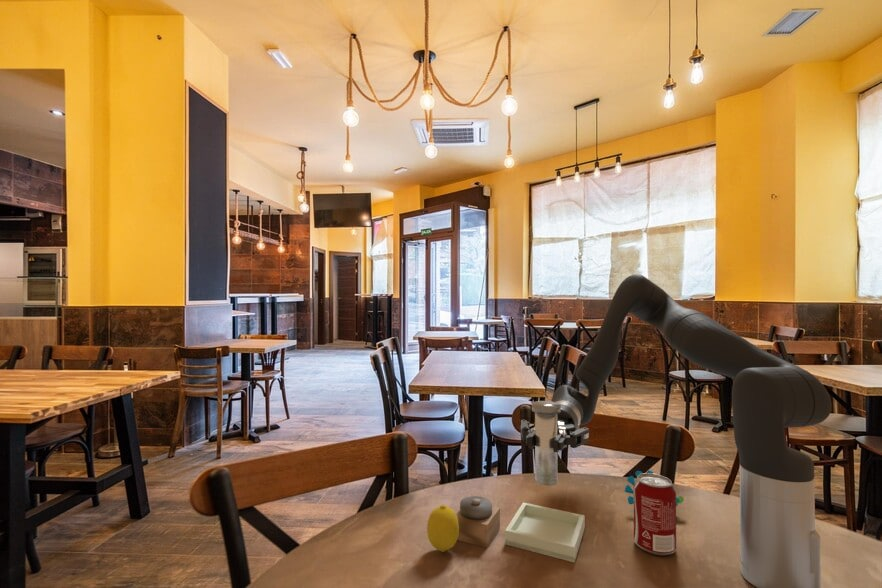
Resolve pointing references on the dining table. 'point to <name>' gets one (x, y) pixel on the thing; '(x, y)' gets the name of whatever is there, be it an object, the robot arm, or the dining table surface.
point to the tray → (546, 531)
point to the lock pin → (545, 441)
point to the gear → (629, 490)
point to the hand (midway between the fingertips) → (542, 444)
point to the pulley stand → (477, 521)
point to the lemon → (443, 528)
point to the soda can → (655, 514)
